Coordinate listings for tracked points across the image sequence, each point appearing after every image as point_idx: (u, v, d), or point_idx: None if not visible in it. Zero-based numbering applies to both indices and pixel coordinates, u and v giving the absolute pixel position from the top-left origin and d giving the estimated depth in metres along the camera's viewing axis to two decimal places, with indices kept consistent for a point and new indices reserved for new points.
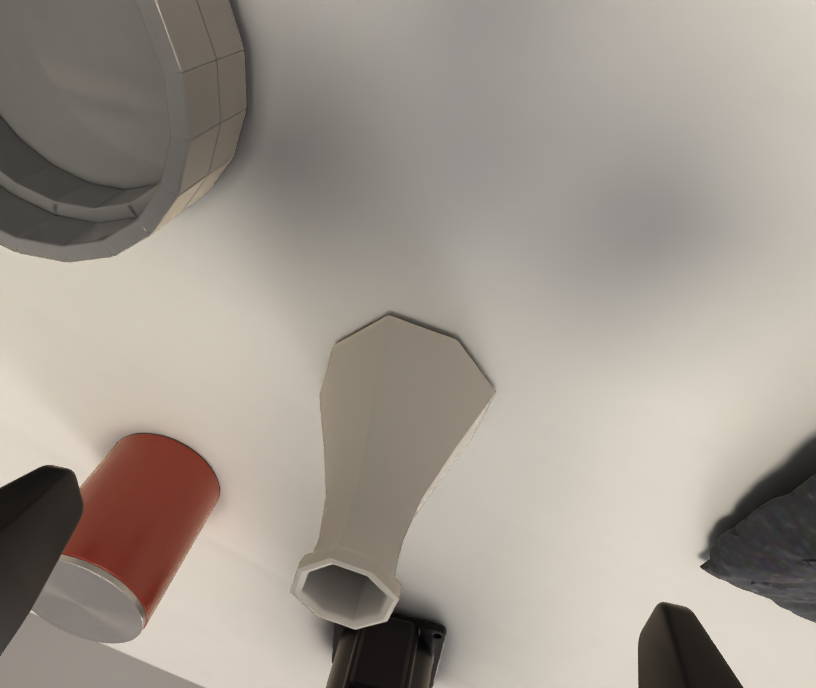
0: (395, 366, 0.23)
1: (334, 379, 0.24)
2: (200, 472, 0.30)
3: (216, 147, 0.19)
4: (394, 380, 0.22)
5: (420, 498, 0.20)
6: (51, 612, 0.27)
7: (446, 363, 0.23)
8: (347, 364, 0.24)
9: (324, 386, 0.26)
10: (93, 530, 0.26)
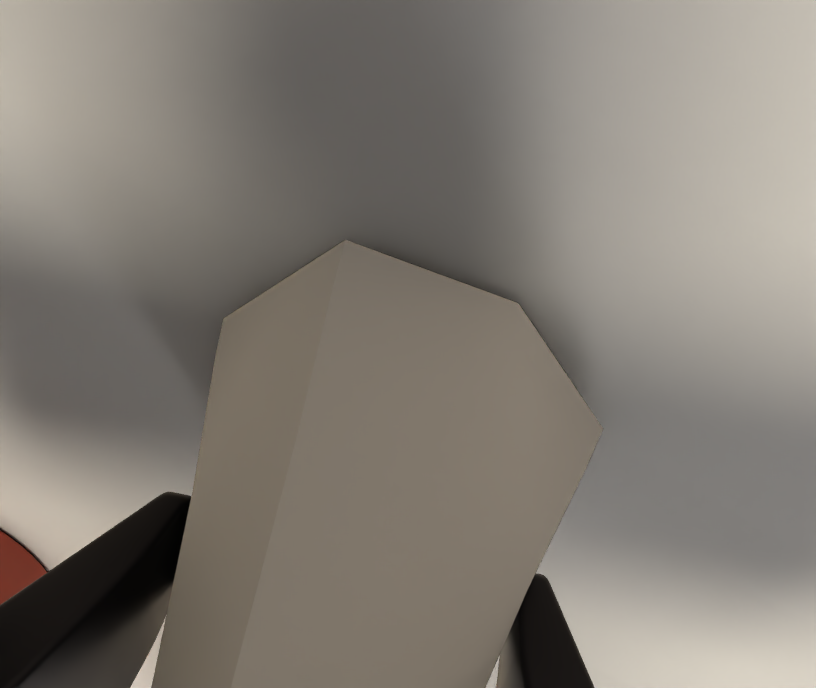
0: (359, 369, 0.08)
1: (208, 402, 0.09)
2: (6, 569, 0.16)
3: None
4: (352, 411, 0.08)
5: None
6: None
7: (494, 361, 0.09)
8: (241, 364, 0.09)
9: None
10: None
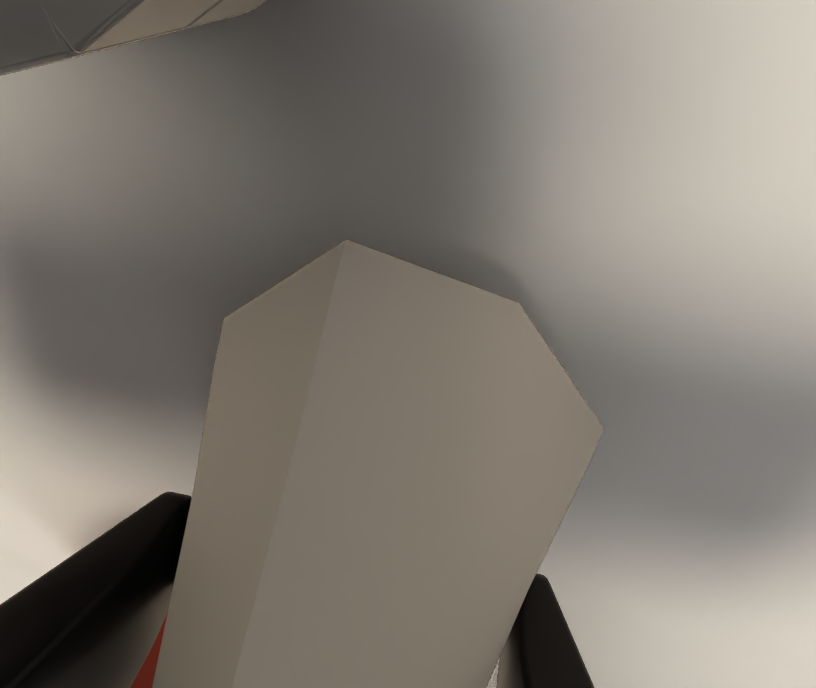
0: (360, 369, 0.08)
1: (209, 401, 0.09)
2: None
3: None
4: (353, 410, 0.08)
5: None
6: None
7: (494, 362, 0.09)
8: (241, 363, 0.09)
9: None
10: None
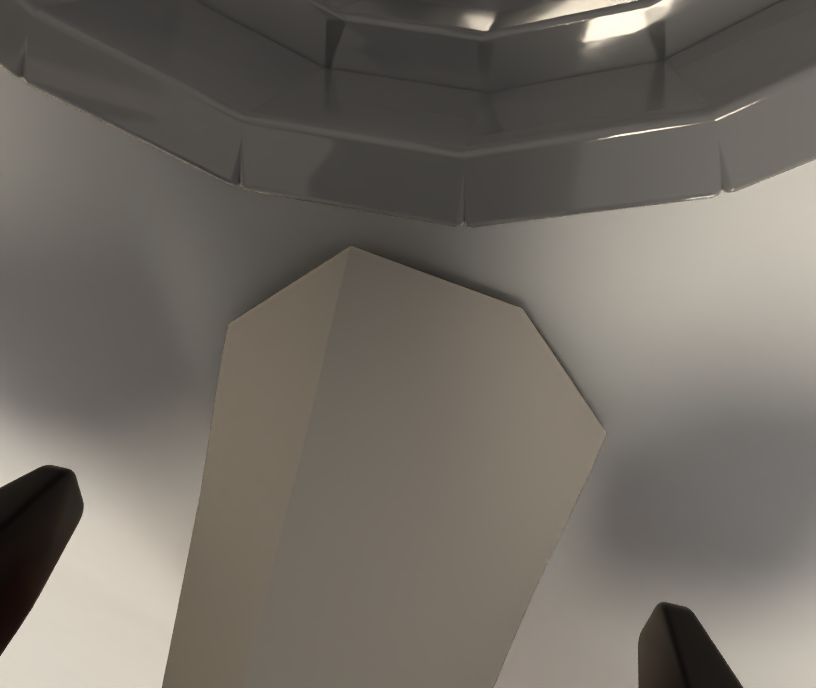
0: (365, 376, 0.08)
1: (214, 407, 0.09)
2: None
3: None
4: (359, 416, 0.08)
5: None
6: None
7: (498, 367, 0.09)
8: (247, 369, 0.09)
9: None
10: None
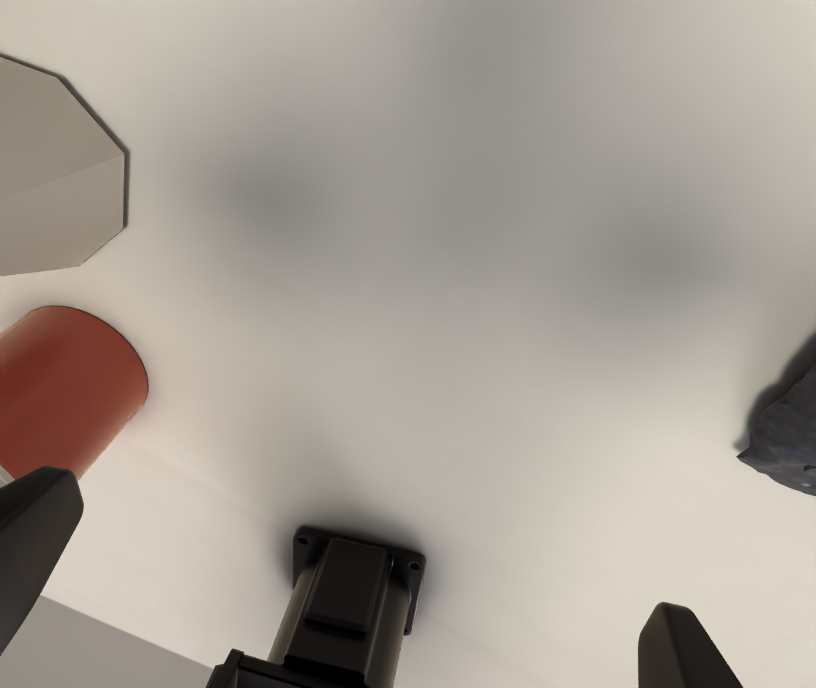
0: None
1: None
2: (119, 352, 0.25)
3: None
4: None
5: None
6: None
7: (28, 97, 0.19)
8: None
9: None
10: None
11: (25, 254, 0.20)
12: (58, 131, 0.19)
